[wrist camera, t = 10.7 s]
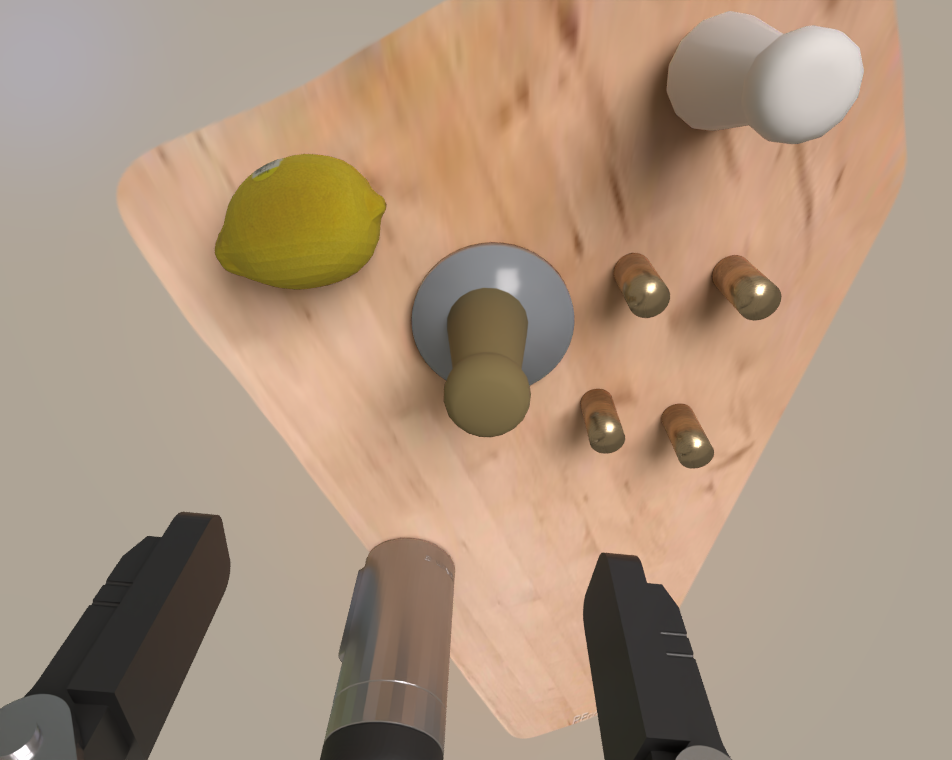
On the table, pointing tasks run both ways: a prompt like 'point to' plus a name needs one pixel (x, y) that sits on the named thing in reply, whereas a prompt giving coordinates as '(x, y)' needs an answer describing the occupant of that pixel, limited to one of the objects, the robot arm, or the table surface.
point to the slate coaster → (508, 273)
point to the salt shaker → (764, 78)
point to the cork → (487, 363)
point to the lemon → (301, 223)
